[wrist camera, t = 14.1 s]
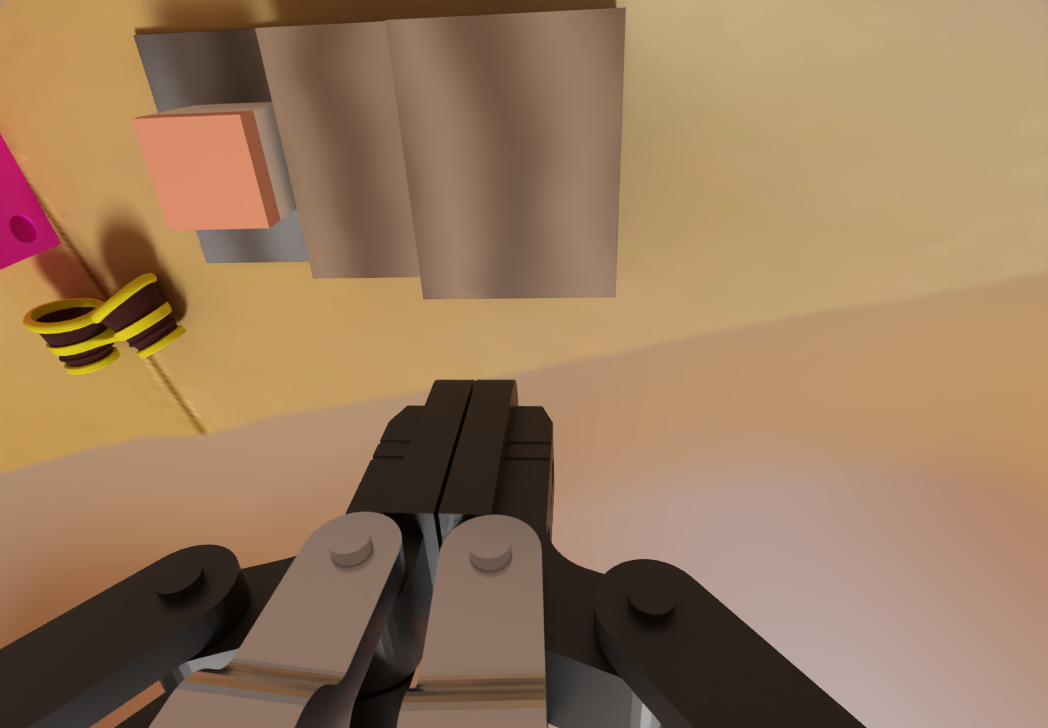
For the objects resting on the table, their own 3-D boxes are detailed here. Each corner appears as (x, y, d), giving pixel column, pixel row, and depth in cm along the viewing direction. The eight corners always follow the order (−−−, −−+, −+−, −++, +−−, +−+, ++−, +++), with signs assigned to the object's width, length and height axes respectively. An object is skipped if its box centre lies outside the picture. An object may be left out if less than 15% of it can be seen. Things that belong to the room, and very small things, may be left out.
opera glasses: (101, 354, 47) (52, 388, 43) (57, 295, 45) (1, 324, 40) (204, 326, 45) (165, 359, 41) (165, 262, 43) (118, 289, 38)
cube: (131, 119, 31) (194, 105, 37) (169, 230, 34) (222, 203, 40) (239, 114, 31) (288, 101, 36) (269, 228, 34) (310, 200, 39)
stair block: (616, 10, 33) (625, 7, 27) (609, 255, 40) (615, 297, 34) (136, 34, 35) (45, 37, 29) (209, 261, 42) (147, 301, 36)
